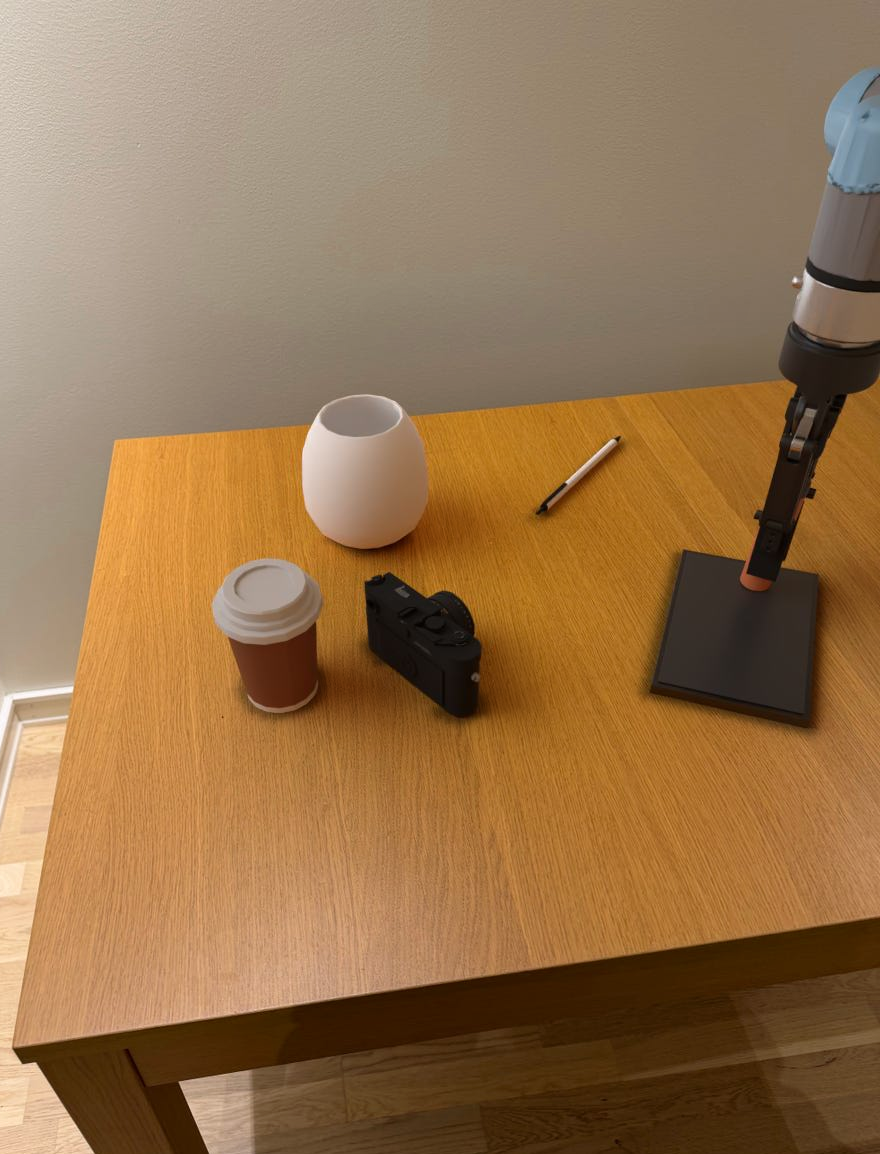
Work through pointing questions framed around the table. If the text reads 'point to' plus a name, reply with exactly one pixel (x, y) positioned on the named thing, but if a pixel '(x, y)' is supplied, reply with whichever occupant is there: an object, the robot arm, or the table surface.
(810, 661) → the plate
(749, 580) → the orange cylinder
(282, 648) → the coffee cup
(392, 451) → the white vase
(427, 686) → the camera
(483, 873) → the table surface
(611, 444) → the pen
